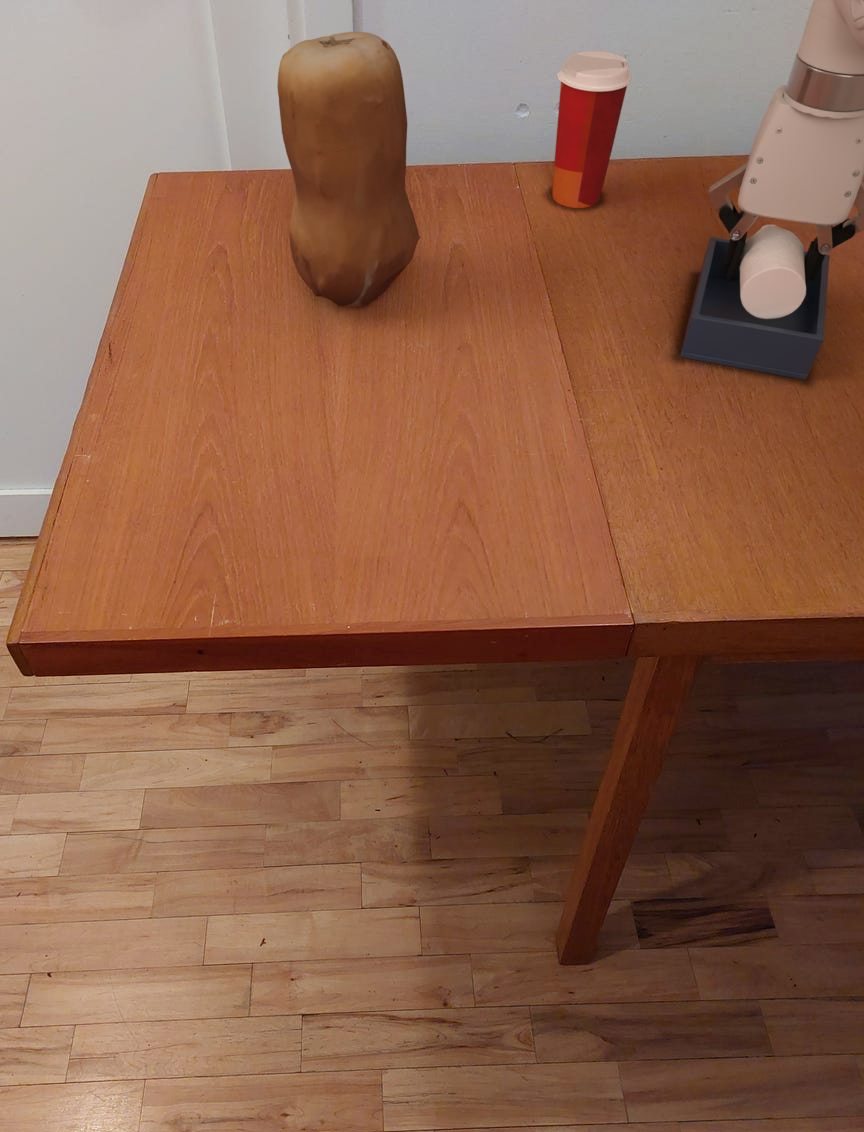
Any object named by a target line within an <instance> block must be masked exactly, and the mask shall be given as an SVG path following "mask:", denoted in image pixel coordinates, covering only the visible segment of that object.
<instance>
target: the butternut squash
mask: <svg viewBox="0 0 864 1132" xmlns="http://www.w3.org/2000/svg"><path fill="white" fill-rule="evenodd" d="M404 87H405V86H404V81H403V73H402V69H401V65H400V62H399V59H398V56H397V55H396V52H395V50H394V49H393V47H392V46H391V45H390V44H389V42H387V41H386V40H385V39H383V38H381V37H380V36H379V35H376V34H374V33H372V32H367V31H345V32H340V33H334V34H333V33H332V34H331V35H330V34H329V35H325V36H319V37H317V38H316V37H315V38H312V39H305V40H302V41H299V42H298V43H296V44H294V45H293V46H292V47H291V48H289V49H288V50H287V51H286V52H284V53H283V55H282V56H281V59H280V62H279V66H278V73H277V96H278V107H279V108H278V109H279V117H280V126H281V127H280V128H281V135H282V140H283V141H282V142H283V144H284V149H285V153H286V156H287V159H288V163H289V166H290V169H291V171H292V177H293V179H294V185H295V191H294V199H293V203H292V208H291V209H292V210H291V215H290V221H289V227H288V229H289V233H288V234H289V235H288V238H289V244H290V245H289V247H290V253H291V257H292V261H293V263H294V266H295V269H296V272H297V273H298V275H299V276H300V278H301V279H302V281H303V282H304V283H305V284H306V285H307V286H308V288H309V289H310V290H311V292H312V293H313V295H314V296H315V297H321V298H324V299H327V300H329V301H330V302H332V303H333V304H334V305H336V306H338V307H340V308H341V307H347V308H360V307H365V306H367V305H369V304H370V303H372V302H373V301H375V300H376V299H378V298H379V297H380V296H382V295H383V294H384V293H385V292H386V291H387V290H388V288H389V287H390V286H391V285H392V284H393V283H394V281H396V279H397V278H398V277H399V276H400V274H402V273H403V271H404V270H405V269H406V268H407V267H408V266H409V264H410V263H411V262H412V261H413V258H414V255H415V252H416V249H417V246H418V244H419V243H418V242H419V241H420V240H421V236H420V234H419V230H418V226H417V222H416V219H415V214H414V211H413V208H412V206H411V204H410V200H409V198H408V194H407V191H406V173H407V144H408V143H407V142H408V141H407V140H408V115H407V108H406V97H405V88H404Z"/></svg>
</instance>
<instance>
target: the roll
mask: <svg viewBox="0 0 864 1132" xmlns="http://www.w3.org/2000/svg"><path fill="white" fill-rule="evenodd" d="M804 251H805V246H804V244H803V242H802V241H801V240H800V238H799V237H798V236H797V235H796V234H795V233H793V232H792V231H791V230H788V229H785V228H782V227H780V226H778V225H776V224H774V223H773V224H764V225H762V227H760V228H759V229H758V230H757V231H756V232H755V233H754V234H753V235H751V236H750V237H748V238H746V242H745V246H744V249H743V252H742V255H741V259H740V298H741V302H742V305H743V307H744V308H745V309H746V311H748V312H749V313H750V314H751V315H753V316H755V317H757V318H761V319H775V318H781V317H784V316H786V315H789V314H790V313H792V312H794V311H795V310H796V309H797V308H798V307H799V306H800V305H801V303H802V302H803V300H804V298H805V295H806V283H805V269H804Z"/></svg>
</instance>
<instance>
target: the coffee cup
mask: <svg viewBox="0 0 864 1132" xmlns="http://www.w3.org/2000/svg"><path fill="white" fill-rule="evenodd" d="M557 79H558V80H559V81H560V90H559V102H558V111H557V112H558V114H557V115H558V116H557V127H556V138H555V152H554V162H553V177H552V198H553V199H552V200H553V201H555V202H556V203H557V204H559V205H561V206H564V207H567V208H573V209H574V208H575V209H584V208H585V209H586V208H589V207H593V206H595V205H596V204H598V203H599V201H600V199H601V195H602V192H603V188H604V185H605V180H606V176H607V171H608V169H609V163H610V160H611V155H612V152H613V148H614V143H615V139H616V134H617V129H618V125H619V122H620V118H621V114H622V109H623V105H624V101H625V97H626V92H627V88H628V86H629V85H630V83H632V79H633V78H632V74H631V72H630V68H629V62H628V61H627V59H626V58H625V57H623V56H621V55H618V54H616V53H612V52H608V51H599V50H598V51H596V50H589V51H588V50H587V51H581V52H576V53H574V54H572V55H570V56H568V57H567V58H566V59H565V62H563V63H562V65H561V69H560V71H558V72H557Z"/></svg>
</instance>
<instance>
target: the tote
mask: <svg viewBox="0 0 864 1132" xmlns="http://www.w3.org/2000/svg"><path fill="white" fill-rule="evenodd" d="M729 242H730V239H727V238H721V237H714V236H710V237H709V241H708V244H707V247H706V252H705V254H704V259H703V262H702V265H701V268H700V272H699V276H698V280H697V284H696V288H695V292H694V296H693V300H692V305H691V309H690V313H689V317H688V322H687V325H686V330H685V333H684V338H683V343H682V346H681V351H680V355H679V357H680V358H683V359H689V360H693V361H694V360H695V361H699V362H705V363H710V364H716V365H721V366H727V367H732V368H738V369H743V370H748V371H755V372H758V373H759V372H760V373H764V374H770V375H775V376H781V377H788V378H791V379H798V380H802V381H807V379H808V377H809V375H810V372H811V370H812V368H813V365H814V364H815V360H816V359H817V356H818V354H819V351H820V349H821V346H822V345H823V342H824V341H825V340H824V339H825V338H824V337H825V323H826V310H827V299H828V282H829V269H830V268H829V267H830V257H831V256H830V254H826V255H825V257H824V260H823V262H822V265H821V267H820V270H819V272H818V275H817V278H816V280H815V281H813V280H809V281H808V284H807V286H806V295H805V298H804V300H803V302H802V303H801V305H800V306H799V307H798V308H797V309H796V310H795V311H794V312H792V313H790V314H789V315H786V316H784V317H781V318H775V319H761V318H757V317H755V316H753V315H751V314H750V313H749V312H748V311H746V309H745V308H744V307H743V305H742V302H741V298H740V262H739V265H738V268H737V271H736V274H735V277H734V279H732V280H728V279H726V278H727V273H728V268H729V267H726V266H723V262H724V258H725V255H726V251H727V248H728V245H729ZM807 252H808V251H805V250H804V260H805V257H806V254H807Z"/></svg>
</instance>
